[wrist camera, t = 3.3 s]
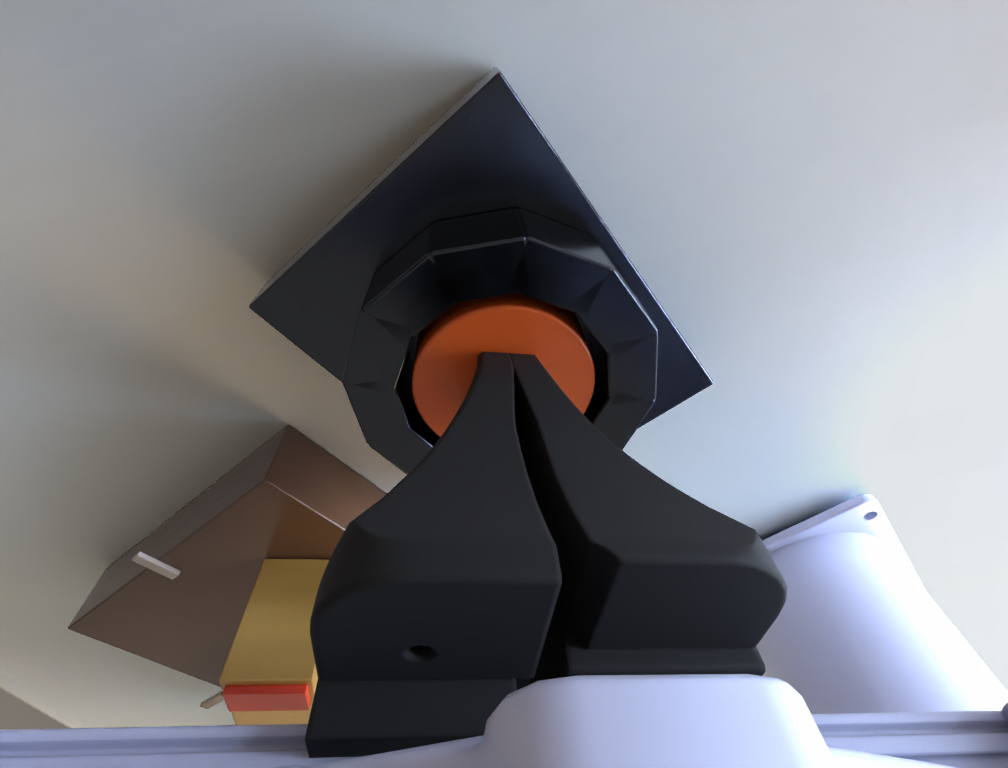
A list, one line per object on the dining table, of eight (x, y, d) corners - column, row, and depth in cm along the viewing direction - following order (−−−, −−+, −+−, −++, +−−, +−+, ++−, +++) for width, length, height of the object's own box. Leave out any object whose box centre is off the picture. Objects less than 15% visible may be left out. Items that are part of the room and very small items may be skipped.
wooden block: (355, 702, 23) (337, 819, 19) (298, 703, 22) (269, 822, 19) (340, 558, 17) (310, 689, 14) (263, 557, 17) (214, 690, 13)
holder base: (565, 584, 23) (575, 643, 21) (345, 695, 27) (335, 754, 25) (305, 385, 16) (281, 443, 14) (69, 578, 20) (22, 644, 18)
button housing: (695, 356, 16) (745, 427, 13) (498, 478, 19) (504, 560, 16) (496, 65, 11) (506, 80, 9) (266, 282, 14) (215, 349, 11)
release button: (613, 358, 14) (630, 397, 13) (489, 439, 16) (491, 481, 14) (514, 237, 12) (522, 266, 11) (381, 343, 13) (371, 381, 12)
